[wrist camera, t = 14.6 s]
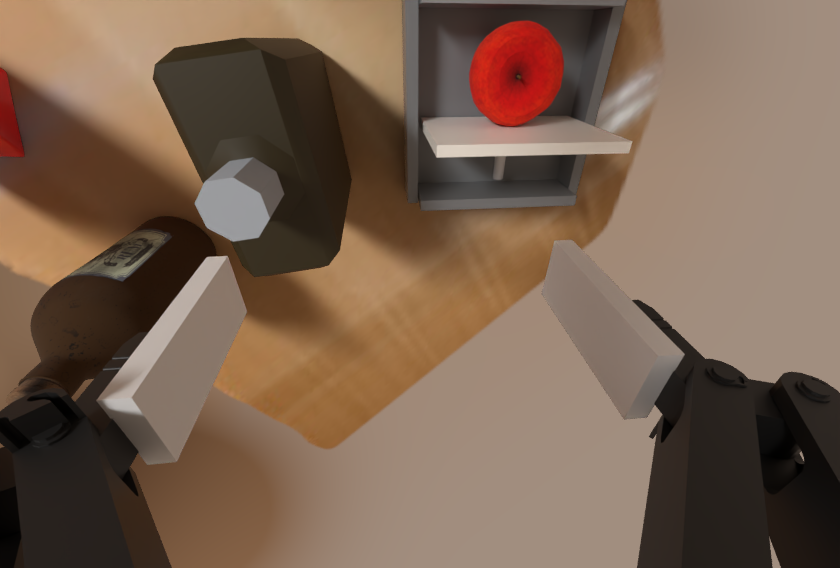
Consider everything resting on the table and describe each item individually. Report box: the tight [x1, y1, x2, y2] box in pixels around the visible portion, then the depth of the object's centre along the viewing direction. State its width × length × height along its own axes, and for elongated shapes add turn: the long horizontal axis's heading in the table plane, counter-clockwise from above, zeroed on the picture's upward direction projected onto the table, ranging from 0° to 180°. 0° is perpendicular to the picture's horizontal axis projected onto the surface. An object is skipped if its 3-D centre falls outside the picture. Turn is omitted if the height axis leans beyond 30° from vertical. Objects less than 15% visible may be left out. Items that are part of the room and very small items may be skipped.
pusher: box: [421, 116, 633, 180], centre depth 38 cm, size 6×17×13 cm, turn 90°
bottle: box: [153, 38, 352, 277], centre depth 31 cm, size 8×16×25 cm, turn 7°
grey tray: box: [402, 0, 627, 211], centre depth 39 cm, size 20×21×7 cm
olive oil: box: [6, 217, 216, 405], centre depth 37 cm, size 11×11×25 cm
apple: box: [469, 20, 564, 126], centre depth 36 cm, size 9×9×8 cm
